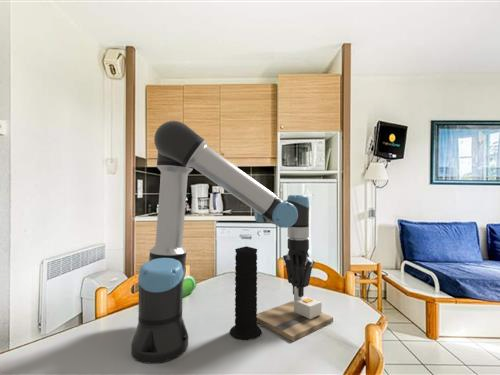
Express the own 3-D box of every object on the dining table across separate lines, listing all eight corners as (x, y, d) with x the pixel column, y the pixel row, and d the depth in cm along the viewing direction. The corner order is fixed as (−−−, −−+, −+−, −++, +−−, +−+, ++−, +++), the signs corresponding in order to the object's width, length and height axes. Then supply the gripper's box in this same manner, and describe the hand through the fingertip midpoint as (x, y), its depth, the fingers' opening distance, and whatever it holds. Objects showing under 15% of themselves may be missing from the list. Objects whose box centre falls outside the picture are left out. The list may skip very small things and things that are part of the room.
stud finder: (310, 319, 91) (310, 305, 91) (293, 311, 96) (293, 299, 97) (321, 314, 95) (321, 301, 95) (305, 307, 100) (305, 295, 100)
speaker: (168, 308, 104) (169, 287, 105) (154, 304, 108) (154, 285, 108) (197, 293, 120) (197, 275, 120) (183, 290, 123) (184, 273, 124)
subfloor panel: (292, 341, 81) (292, 336, 81) (253, 319, 95) (253, 314, 95) (333, 321, 93) (333, 317, 93) (292, 304, 107) (292, 300, 107)
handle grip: (261, 341, 81) (262, 325, 91) (261, 250, 82) (263, 243, 92) (227, 339, 82) (232, 323, 92) (227, 249, 83) (233, 243, 92)
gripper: (319, 239, 97) (319, 308, 96) (291, 235, 107) (291, 297, 106) (305, 242, 92) (305, 314, 92) (277, 237, 102) (277, 301, 102)
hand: (298, 304), depth 99 cm, fingers closed
